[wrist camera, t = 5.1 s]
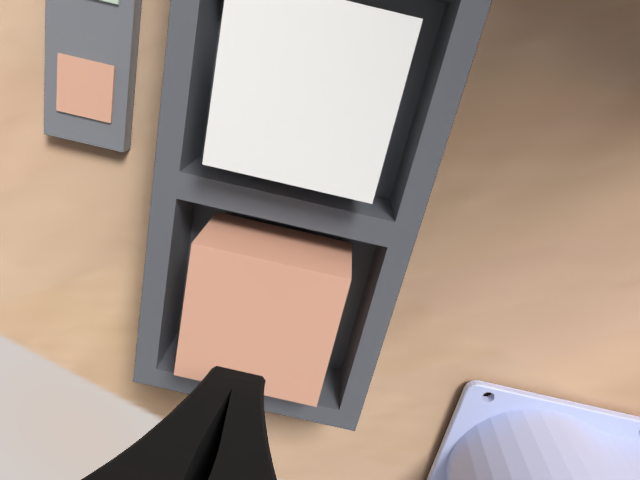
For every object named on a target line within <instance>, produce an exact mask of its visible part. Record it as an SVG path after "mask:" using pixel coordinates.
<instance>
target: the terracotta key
mask: <svg viewBox="0 0 640 480" xmlns="http://www.w3.org/2000/svg"><path fill="white" fill-rule="evenodd" d="M351 278H352V243H349V242H345V241H341V240H336V239H332V238H328V237H323V236H319V235H315V234H310V233H306V232H302V231H297V230H293V229H289V228H284V227H280V226H276V225H271V224H267V223H263V222H258V221H254V220H250V219H245V218H241V217H237V216H233V215H228V214H224V213H220V212H216V213H215V214H214V216H213V217H212V218H211V219H210V221H209V222H208V223H207V224H206V226H205V227H204V228H203V229H202V231H201V232H200V233H199V234H198V236H197V237H196V238H195V239H194V241H193V242H192V243H191V251H190V258H189V265H188V273H187V280H186V288H185V295H184V302H183V310H182V317H181V325H180V332H179V339H178V347H177V354H176V362H175V369H174V375H176V376H180V377H185V378H189V379H194V380H198V381H202V380H203V379H204V378H205V376H206V375H207V374H208V373H209V371H210V370H211V369H212V368H213V367H215V366H220V367H224V368H229V369H233V370H237V371H242V372H246V373H251V374H255V375H260V376H263V378H264V379H265V380H266V382H265V387H264V395H265V396H270V397H274V398H279V399H283V400H288V401H292V402H296V403H301V404H305V405H310V406H314V407H317V404H318V400H319V396H320V393H321V389H322V385H323V382H324V378H325V374H326V371H327V367H328V363H329V360H330V356H331V353H332V349H333V345H334V342H335V338H336V334H337V331H338V327H339V323H340V320H341V316H342V313H343V309H344V305H345V302H346V298H347V294H348V291H349V287H350V283H351Z"/></svg>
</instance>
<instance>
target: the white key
mask: <svg viewBox="0 0 640 480" xmlns="http://www.w3.org/2000/svg"><path fill="white" fill-rule="evenodd" d="M422 21H423V19H421V18H417V17H413V16H409V15H405V14H400V13H396V12H392V11H388V10H384V9H380V8H376V7H371V6H367V5H363V4H359V3H355V2H351V1H347V0H224V7H223V14H222V21H221V29H220V36H219V44H218V51H217V58H216V66H215V73H214V81H213V88H212V95H211V103H210V110H209V118H208V125H207V132H206V140H205V147H204V155H203V162H202V164H203V165H207V166H211V167H216V168H220V169H224V170H228V171H233V172H237V173H241V174H246V175H250V176H254V177H258V178H263V179H267V180H271V181H276V182H280V183H284V184H289V185H293V186H297V187H301V188H306V189H310V190H314V191H319V192H323V193H327V194H331V195H336V196H340V197H344V198H349V199H353V200H357V201H361V202H366V203H370V204H372V203H373V200H374V196H375V192H376V189H377V185H378V181H379V178H380V174H381V170H382V167H383V163H384V160H385V156H386V152H387V149H388V145H389V141H390V138H391V134H392V130H393V127H394V123H395V120H396V116H397V112H398V109H399V105H400V101H401V98H402V94H403V90H404V87H405V83H406V79H407V76H408V72H409V69H410V65H411V61H412V58H413V54H414V50H415V47H416V43H417V39H418V36H419V32H420V28H421V25H422Z"/></svg>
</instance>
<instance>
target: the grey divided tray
mask: <svg viewBox="0 0 640 480" xmlns="http://www.w3.org/2000/svg"><path fill="white" fill-rule="evenodd" d="M347 1H351V2H355V3H359V4H363V5H367V6H371V7H376V8H380V9H384V10H388V11H392V12H396V13H400V14H405V15H409V16H413V17H417V18H421V19H423V21H422V25H421V28H420V32H419V36H418V39H417V43H416V47H415V50H414V54H413V58H412V61H411V65H410V69H409V72H408V76H407V79H406V83H405V87H404V90H403V94H402V98H401V101H400V105H399V109H398V112H397V116H396V120H395V123H394V127H393V130H392V134H391V138H390V141H389V145H388V149H387V152H386V156H385V160H384V163H383V167H382V170H381V174H380V178H379V181H378V185H377V189H376V192H375V196H374V200H373V203H372V204H370V203H366V202H361V201H357V200H353V199H349V198H344V197H340V196H336V195H331V194H327V193H323V192H319V191H314V190H310V189H306V188H301V187H297V186H293V185H289V184H284V183H280V182H276V181H271V180H267V179H263V178H258V177H254V176H250V175H246V174H241V173H237V172H233V171H228V170H224V169H220V168H216V167H211V166H207V165H203V164H202V162H203V155H204V147H205V140H206V132H207V125H208V118H209V110H210V103H211V95H212V88H213V81H214V73H215V66H216V58H217V51H218V44H219V36H220V29H221V21H222V14H223V7H224V0H171V4H170V14H169V24H168V34H167V44H166V54H165V64H164V74H163V85H162V95H161V105H160V115H159V125H158V135H157V145H156V156H155V166H154V176H153V186H152V196H151V206H150V216H149V227H148V237H147V247H146V257H145V267H144V277H143V287H142V298H141V308H140V318H139V328H138V338H137V348H136V358H135V369H134V379H133V382H137V383H142V384H146V385H151V386H155V387H160V388H164V389H169V390H173V391H177V392H182V393H186V394H190V393H191V392H192V391H193V390H194V389H195V388H196V387H197V386H198V384H199V383H200V382H201V381H198V380H194V379H189V378H185V377H180V376H176V375H174V369H175V362H176V354H177V347H178V339H179V332H180V325H181V317H182V310H183V302H184V295H185V288H186V280H187V273H188V265H189V258H190V251H191V243H192V242H193V241H194V239H195V238H196V237H197V236H198V234H199V233H200V232H201V231H202V229H203V228H204V227H205V226H206V224H207V223H208V222H209V221H210V219H211V218H212V217H213V216H214V214H215V213H216V212H220V213H224V214H228V215H233V216H237V217H241V218H245V219H250V220H254V221H258V222H263V223H267V224H271V225H276V226H280V227H284V228H289V229H293V230H297V231H302V232H306V233H310V234H315V235H319V236H323V237H328V238H332V239H336V240H341V241H345V242H349V243H352V278H351V283H350V287H349V291H348V294H347V298H346V302H345V305H344V309H343V313H342V316H341V320H340V323H339V327H338V331H337V334H336V338H335V342H334V345H333V349H332V353H331V356H330V360H329V363H328V367H327V371H326V374H325V378H324V382H323V385H322V389H321V393H320V396H319V400H318V404H317V407H314V406H310V405H305V404H301V403H296V402H292V401H288V400H283V399H279V398H274V397H270V396H265V395H264V411H267V412H272V413H276V414H281V415H285V416H290V417H294V418H298V419H303V420H307V421H312V422H316V423H321V424H325V425H330V426H334V427H339V428H343V429H348V430H352V431H355V429H356V426H357V423H358V420H359V417H360V414H361V410H362V407H363V404H364V401H365V398H366V395H367V392H368V388H369V385H370V382H371V379H372V376H373V373H374V370H375V366H376V363H377V360H378V357H379V354H380V351H381V348H382V344H383V341H384V338H385V335H386V332H387V329H388V326H389V322H390V319H391V316H392V313H393V310H394V307H395V304H396V300H397V297H398V294H399V291H400V288H401V285H402V282H403V278H404V275H405V272H406V269H407V266H408V263H409V260H410V256H411V253H412V250H413V247H414V244H415V241H416V238H417V234H418V231H419V228H420V225H421V222H422V219H423V216H424V212H425V209H426V206H427V203H428V200H429V197H430V194H431V190H432V187H433V184H434V181H435V178H436V175H437V172H438V168H439V165H440V162H441V159H442V156H443V153H444V150H445V146H446V143H447V140H448V137H449V134H450V131H451V128H452V124H453V121H454V118H455V115H456V112H457V109H458V106H459V102H460V99H461V96H462V93H463V90H464V87H465V84H466V80H467V77H468V74H469V71H470V68H471V65H472V62H473V58H474V55H475V52H476V49H477V46H478V43H479V40H480V36H481V33H482V30H483V27H484V24H485V21H486V18H487V14H488V11H489V8H490V5H491V2H492V0H347Z"/></svg>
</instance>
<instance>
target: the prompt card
mask: <svg viewBox="0 0 640 480" xmlns="http://www.w3.org/2000/svg"><path fill="white" fill-rule="evenodd" d="M141 3H142V0H46V6H45V83H44V134H46V135H50V136H55V137H59V138H63V139H68V140H72V141H76V142H81V143H85V144H89V145H93V146H98V147H102V148H106V149H111V150H115V151H119V152H125V151H127V150H129V149H130V143H131V130H132V117H133V105H134V92H135V79H136V67H137V54H138V41H139V29H140V16H141Z"/></svg>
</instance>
